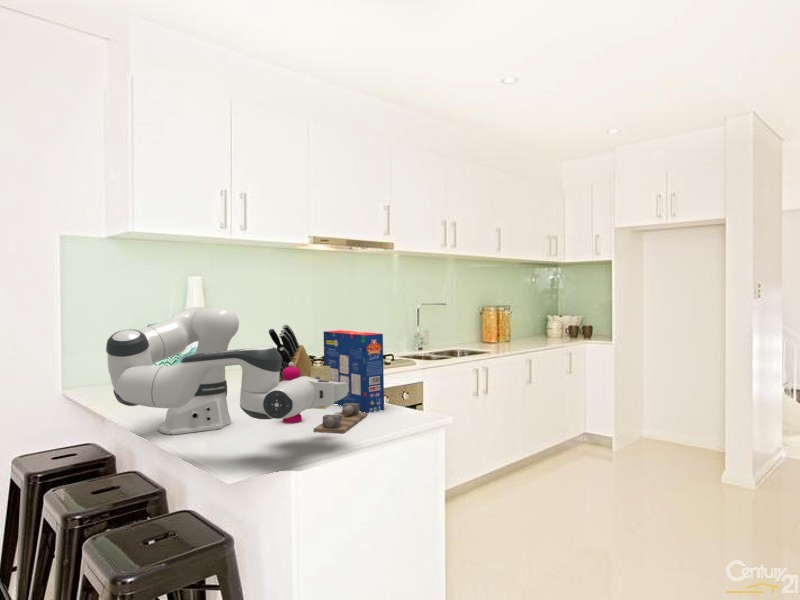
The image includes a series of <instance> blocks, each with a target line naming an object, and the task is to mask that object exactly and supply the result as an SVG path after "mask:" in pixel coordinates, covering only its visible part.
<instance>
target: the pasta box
mask: <svg viewBox="0 0 800 600" xmlns="http://www.w3.org/2000/svg"><path fill="white" fill-rule="evenodd" d="M383 338H384V334H383V333H377V332H366V331H353V330H341V329H340V330H338V329H337V330H327V331H323V366H330V374H331V381H332V382H346V383H347V385H348V394H347V396H345V397H344V398H342V399H340V400H338V401H335V402H334V404H338V405H341V406H343V404H345V403H359V411H361V412H360V413H363V412H365V413H368V414H370V413H369V412H371V413H375V412H374V411H376V412H380V411H379V410H382V411H384V410H385V391H384V390H385V387H384V385H385V382H384V379H385V378H384V376H385V375H384V339H383ZM334 404H333V405H334ZM338 405H337V406H338ZM341 406H340V407H341Z"/></svg>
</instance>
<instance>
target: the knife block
mask: <svg viewBox="0 0 800 600" xmlns="http://www.w3.org/2000/svg"><path fill="white" fill-rule="evenodd" d="M268 333H269V334H268V335H269V337H270V338H271V340H272V341H273V343H274V344H275V345H276V347H274V348H275V349H276V350H277V351H278V352H279V354H280V355H281V357H282V365H281V371H280V377H279V383H280V382H282V381H285V380H284V379H283V377H282V373H283V370H284V369H285V368H287V367H289V363H290V362H293V363H294V366H293V367H296V368H298V369H299V370H300V377H302V376H308V377H311V371H310V368H311V367H314V365H313V363H312V361H311V358H310V357H309V354H308V353H307V351H306V349H305V347H304V345H303V344H299V342H298V340H297V337H296V334H295V332H294V331H293V330H292V328H291V326H289V325H288V324H283V325H282V329H281V330H280V333H279V335H278V333H277V332H276V330H275V329H274V328H270V329H269V330H268Z"/></svg>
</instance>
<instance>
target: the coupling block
mask: <svg viewBox="0 0 800 600" xmlns="http://www.w3.org/2000/svg"><path fill="white" fill-rule="evenodd" d="M310 371H311V378H314V379H318V380H324V381H331V374H330V366H324V365H313V367H311V368H310ZM330 407H331V406H321V407H314V408H313V409H315V410H317V409H318V410H319V409H320V410H321V409H322V410H326V409H328V408H330Z"/></svg>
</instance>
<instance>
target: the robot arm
mask: <svg viewBox="0 0 800 600" xmlns="http://www.w3.org/2000/svg"><path fill="white" fill-rule="evenodd" d="M239 327H240V321H239V318H238V316H237V314H236V312H234V311H233V310H230V309H227V308H225V307H222V306H221V307H220V306H216V307H215V306H205V307H203V306H201V307H200V306H199V307H196V306H195V307H189V308H186V309H183V310H181V311H180V312H179V313H178V314H175V316H172V317H171V318H168V319H166V320H163V321H160V322H157V323H155V324H152V325H148V326H146V327H143V328H140V329H138V330H137V329H131V328H130V329H122V330H119V331H116V332H114V333H113V334H111V336H109V338H108V339H107V341H106V348H105V349H106V350H105V351H106V353H107V368H108V373H109V377H110V380H111V383H112V387H113V395H114V397H115V399H116V400H117V402H118V403H120V404H122V405H124V406H128V407H137V406H143V407H148V408H157V409H158V408H159V409H167V411H166V415H165V422H162V423H160V424H159V425H158V426H157V430H158V432H159V433H162V434H164V433H165V435H170V434H171V435H182V434H189V433H196V432H204V431H213V430H220V429H222V428H224V427H225V426H227V425H229V424H231V423H232V419H231V416H230V413H229V407H228V401H227V396H228V383H227V381H228V380H227V379H226V367H230V366H231V367H232V366H240V367H241V370H242V371H241V386H240V394H239V395H240V397H239V398H240V399H239V407H240V409H241V410H242V411H243V412H244V413H245V414H247V416H249V417H250V418H253V419H257V420H274V419H275V420H283V419H285V418H289V417H292V416H295V415H297V414H299V413H300V412H301V413H302V412H304V411H306V410H308V409H309V410H311V409H314V407H321V406H330V407H331V406H333V405H334V402H335V401H338V400H340V399H342V398H344V397H345V396H347V394H348V385H347V383H346V382H332V381H324V380H318V379H314V378H311V377H308V376H302V377H299V378H296V379H293V380H291V381H282V382H280V383H279V377H280V371H281V365H282V357H281V355H280V354H279V352H278V351H277V350H276V349H277V348H276V347H274V346H271V345H262V344H261V345H255V346H251V347H247V348H238V349H228V347H229V346H230V342H231V340H232V338H233V337H234V336H235V335H236V334H237V333H238V331H239ZM195 342H198V343H197V347H196V349H195V352H194V354H190V355H187V356H184V357H182V359H181V360H180V362H178V363H177V364H173V365H157V364H156V363H158V362H160V361H163V360H165V359H168V358H170V357H172V356H175V355H178V354H180V353H182V352H184V351H185V350H186V349H187V347H188V346H189V345H191V344H193V343H195ZM275 348H276V349H275ZM154 364H156V365H154ZM301 413H300V414H301Z"/></svg>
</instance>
